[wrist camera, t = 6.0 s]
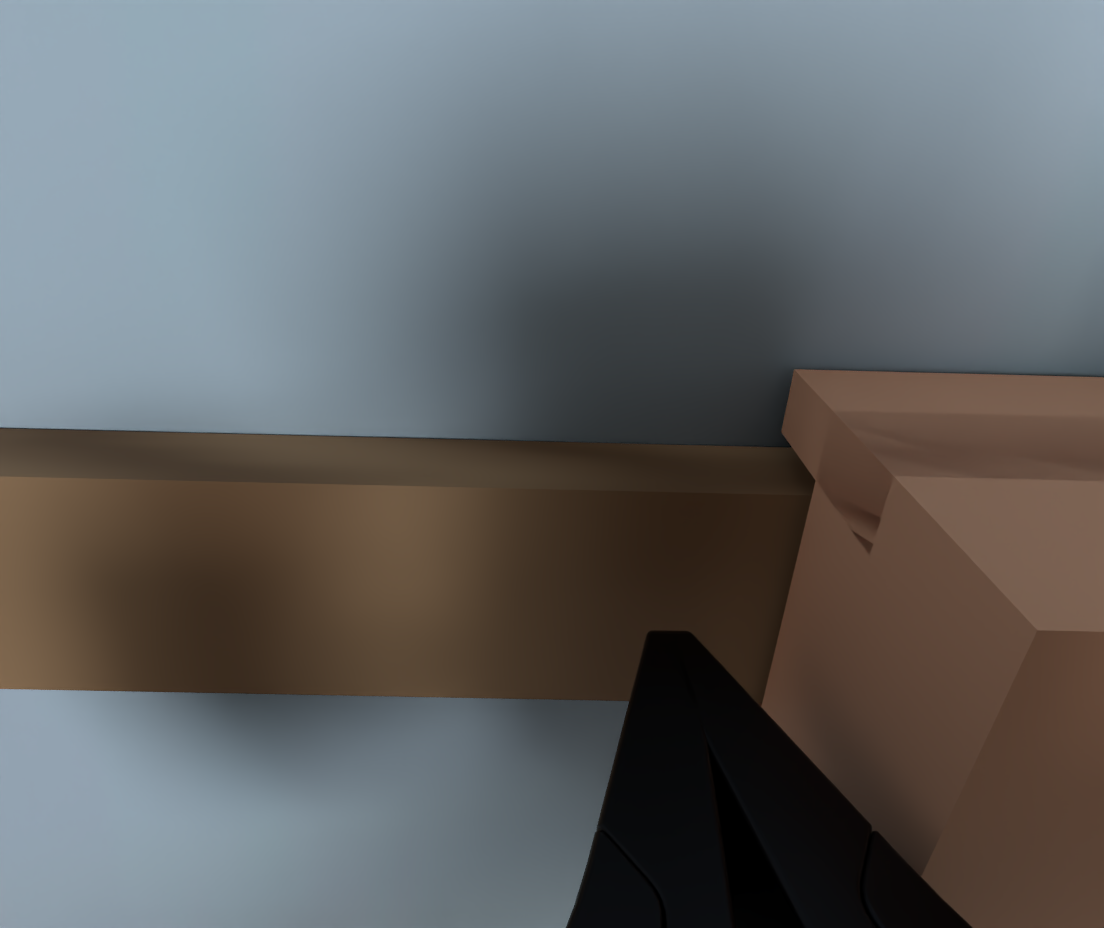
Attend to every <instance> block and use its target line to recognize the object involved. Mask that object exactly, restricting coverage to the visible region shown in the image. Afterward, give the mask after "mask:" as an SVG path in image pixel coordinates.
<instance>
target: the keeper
mask: <svg viewBox="0 0 1104 928" xmlns="http://www.w3.org/2000/svg"><path fill="white" fill-rule="evenodd" d="M781 433H782V434H783V435H784V437H785V438H786V440H787V441H788V442H789V444H790V445H791V447H792V448H793V449H794V451H795V452H796V454H797V455H798V456H799V458H800V459H801V461H802V462H803V463H804V465H805V466H806V468H807V469H808V471H809V472H810V473H811V475H812V476H813V478H814V479H815V480H816V481H815V485H814V489H813V493H812V498H811V502H810V506H809V510H808V514H807V519H806V523H805V527H804V531H803V535H802V539H801V544H800V548H799V552H798V556H797V560H796V564H795V569H794V573H793V577H792V581H791V585H790V589H789V594H788V598H787V602H786V606H785V610H784V614H783V619H782V623H781V627H780V631H779V635H778V639H777V644H776V648H775V652H774V656H773V660H772V664H771V669H770V673H769V677H768V681H767V685H766V689H765V694H764V698H763V702H762V704H760V703H758V704H759V705H760V706H761V707H762V708H763V709H764V710H765V711H766V713H767V714H768V715H769V716H770V717H771V718H772V719H773V720H774V721H775V722H776V723H777V724H778V725H779V726H780V727H781V729H782V730H783V731H784V732H785V733H786V734H787V735H788V736H789V737H790V738H791V739H792V740H793V741H794V742H795V744H796V745H797V746H798V747H799V748H800V749H801V750H802V751H803V752H804V753H805V754H806V755H807V756H808V757H809V759H810V760H811V761H812V762H813V763H814V764H815V765H816V766H817V767H818V768H819V769H820V770H821V771H822V772H823V773H824V775H825V776H826V777H827V778H828V779H829V780H830V781H831V782H832V783H833V784H834V785H835V786H836V787H837V788H838V790H839V791H840V792H841V793H842V794H843V795H844V796H845V797H846V798H847V799H848V800H849V801H850V802H851V803H852V805H853V806H854V807H855V808H856V809H857V810H858V811H859V812H860V813H861V814H862V815H863V816H864V817H865V818H866V819H867V821H868V822H869V823H870V824H871V825H872V831H878V832H879V833H880V834H881V835H882V836H883V837H884V838H885V839H886V840H887V842H888V843H889V844H890V845H891V846H892V847H893V848H894V849H895V850H896V851H897V852H898V853H899V854H900V855H901V857H902V858H903V859H904V860H905V861H906V862H907V863H908V864H909V865H910V866H911V867H912V868H913V869H914V870H915V871H916V872H917V873H918V874H919V875H920V876H921V877H922V878H923V879H924V880H925V881H926V882H927V883H928V884H929V885H930V886H931V887H932V888H933V889H934V890H935V891H936V892H937V893H938V894H939V896H940V897H941V898H942V899H943V900H944V901H945V902H947V903H948V904H949V905H950V906H951V907H952V908H953V909H954V910H955V911H956V912H957V913H958V914H959V915H960V916H961V917H962V918H963V919H964V920H966V921H967V922H968V923H969V924H970V925H971V926H972V927H973V928H1104V377H1074V376H1035V375H996V374H958V373H919V372H880V371H841V370H803V369H794V372H793V377H792V382H791V387H790V392H789V397H788V401H787V406H786V411H785V416H784V421H783V426H782V431H781ZM871 833H872V832H871Z"/></svg>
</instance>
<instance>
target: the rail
mask: <svg viewBox="0 0 1104 928" xmlns="http://www.w3.org/2000/svg"><path fill="white" fill-rule="evenodd" d="M815 481H816V480H815V479H814V478H813V476H812V475H811V473H810V472H809V471H808V469H807V468H806V466H805V465H804V463H803V462H802V461H801V459H800V458H799V456H798V455H797V454H796V452H795V451H794V449H793V448H789V447H748V446H707V445H666V444H625V443H584V442H543V441H501V440H460V439H419V438H378V437H337V436H296V435H255V434H213V433H172V432H131V431H90V430H49V429H8V428H0V689H40V690H91V691H142V692H194V693H245V694H297V695H348V696H400V697H451V698H502V699H554V700H605V701H630V697H631V693H632V689H633V685H634V681H635V677H636V673H637V670H638V666H639V662H640V658H641V654H642V650H643V646H644V643H645V639H646V635H647V633H648V632H649V631H652V630H666V631H689V632H691V633H692V634H694V635H695V637H696V638H697V639H698V640H699V641H700V642H701V643H702V644H703V645H704V646H705V647H706V648H707V649H708V650H709V652H710V653H711V654H712V655H713V656H714V657H715V658H716V659H717V660H718V661H719V662H720V663H721V664H722V665H723V667H724V668H725V669H726V670H727V671H728V672H729V673H730V674H731V675H732V676H733V677H734V678H735V679H736V680H737V681H738V683H739V684H740V685H741V686H742V687H743V688H744V689H745V690H746V691H747V692H748V693H749V694H750V695H751V696H752V698H753V699H754V700H755V701H756V702H757V703H760V704H762V702H763V698H764V694H765V689H766V685H767V681H768V677H769V673H770V669H771V664H772V660H773V656H774V652H775V648H776V644H777V639H778V635H779V631H780V627H781V623H782V619H783V614H784V610H785V606H786V602H787V598H788V594H789V589H790V585H791V581H792V577H793V573H794V569H795V564H796V560H797V556H798V552H799V548H800V544H801V539H802V535H803V531H804V527H805V523H806V519H807V514H808V510H809V506H810V502H811V498H812V493H813V489H814V485H815Z"/></svg>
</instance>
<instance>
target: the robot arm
mask: <svg viewBox="0 0 1104 928" xmlns="http://www.w3.org/2000/svg"><path fill="white" fill-rule="evenodd" d="M871 832H872V833H871ZM566 928H973V927H972V926H971V925H970V924H969V923H968V922H967V921H966V920H964V919H963V918H962V917H961V916H960V915H959V914H958V913H957V912H956V911H955V910H954V909H953V908H952V907H951V906H950V905H949V904H948V903H947V902H945V901H944V900H943V899H942V898H941V897H940V896H939V894H938V893H937V892H936V891H935V890H934V889H933V888H932V887H931V886H930V885H929V884H928V883H927V882H926V881H925V880H924V879H923V878H922V877H921V876H920V875H919V874H918V873H917V872H916V871H915V870H914V869H913V868H912V867H911V866H910V865H909V864H908V863H907V862H906V861H905V860H904V859H903V858H902V857H901V855H900V854H899V853H898V852H897V851H896V850H895V849H894V848H893V847H892V846H891V845H890V844H889V843H888V842H887V840H886V839H885V838H884V837H883V836H882V835H881V834H880V833H879V832H878V831H872V825H871V824H870V823H869V822H868V821H867V819H866V818H865V817H864V816H863V815H862V814H861V813H860V812H859V811H858V810H857V809H856V808H855V807H854V806H853V805H852V803H851V802H850V801H849V800H848V799H847V798H846V797H845V796H844V795H843V794H842V793H841V792H840V791H839V790H838V788H837V787H836V786H835V785H834V784H833V783H832V782H831V781H830V780H829V779H828V778H827V777H826V776H825V775H824V773H823V772H822V771H821V770H820V769H819V768H818V767H817V766H816V765H815V764H814V763H813V762H812V761H811V760H810V759H809V757H808V756H807V755H806V754H805V753H804V752H803V751H802V750H801V749H800V748H799V747H798V746H797V745H796V744H795V742H794V741H793V740H792V739H791V738H790V737H789V736H788V735H787V734H786V733H785V732H784V731H783V730H782V729H781V727H780V726H779V725H778V724H777V723H776V722H775V721H774V720H773V719H772V718H771V717H770V716H769V715H768V714H767V713H766V711H765V710H764V709H763V708H762V707H761V706H760V705H759V704H758V703H757V702H756V701H755V700H754V699H753V698H752V696H751V695H750V694H749V693H748V692H747V691H746V690H745V689H744V688H743V687H742V686H741V685H740V684H739V683H738V681H737V680H736V679H735V678H734V677H733V676H732V675H731V674H730V673H729V672H728V671H727V670H726V669H725V668H724V667H723V665H722V664H721V663H720V662H719V661H718V660H717V659H716V658H715V657H714V656H713V655H712V654H711V653H710V652H709V650H708V649H707V648H706V647H705V646H704V645H703V644H702V643H701V642H700V641H699V640H698V639H697V638H696V637H695V635H694V634H692V633H691V632H689V631H666V630H652V631H649V632H648V633H647V635H646V639H645V643H644V646H643V650H642V654H641V658H640V662H639V666H638V670H637V673H636V677H635V681H634V685H633V689H632V693H631V697H630V701H629V704H628V708H627V712H626V716H625V720H624V724H623V728H622V732H621V735H620V739H619V743H618V747H617V751H616V755H615V759H614V763H613V766H612V770H611V774H610V778H609V782H608V786H607V790H606V794H605V797H604V801H603V805H602V809H601V813H600V817H599V821H598V825H597V831H596V832H595V835H594V839H593V842H592V846H591V850H590V854H589V858H588V862H587V865H586V869H585V872H584V875H583V879H582V882H581V885H580V889H579V892H578V895H577V899H576V902H575V905H574V908H573V910H572V913H571V916H570V918H569V921H568V923H567V926H566Z"/></svg>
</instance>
